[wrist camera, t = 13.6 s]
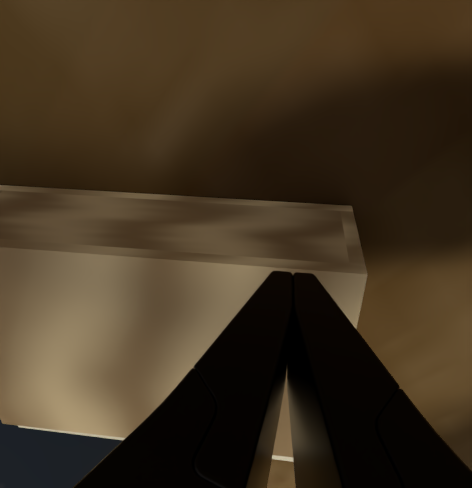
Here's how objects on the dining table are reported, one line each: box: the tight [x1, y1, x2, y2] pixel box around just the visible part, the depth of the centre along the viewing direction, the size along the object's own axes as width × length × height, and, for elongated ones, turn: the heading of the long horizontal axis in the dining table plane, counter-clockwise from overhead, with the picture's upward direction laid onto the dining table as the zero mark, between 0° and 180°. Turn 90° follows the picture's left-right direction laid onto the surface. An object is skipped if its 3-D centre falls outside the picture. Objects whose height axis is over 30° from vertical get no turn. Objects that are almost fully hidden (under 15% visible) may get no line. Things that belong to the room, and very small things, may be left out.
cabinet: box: [0, 185, 368, 457], centre depth 23 cm, size 18×12×6 cm, turn 90°
